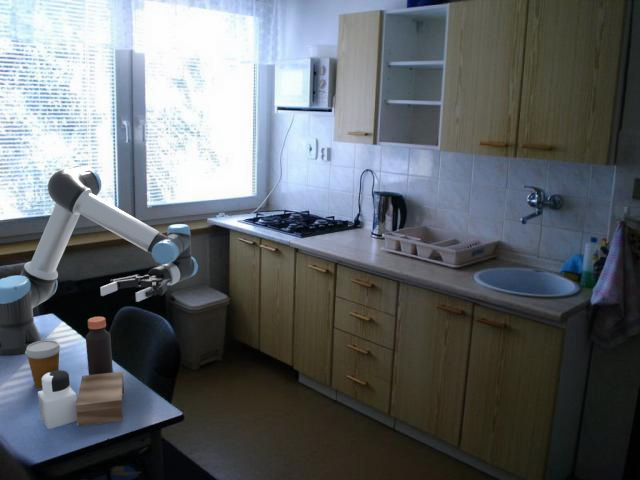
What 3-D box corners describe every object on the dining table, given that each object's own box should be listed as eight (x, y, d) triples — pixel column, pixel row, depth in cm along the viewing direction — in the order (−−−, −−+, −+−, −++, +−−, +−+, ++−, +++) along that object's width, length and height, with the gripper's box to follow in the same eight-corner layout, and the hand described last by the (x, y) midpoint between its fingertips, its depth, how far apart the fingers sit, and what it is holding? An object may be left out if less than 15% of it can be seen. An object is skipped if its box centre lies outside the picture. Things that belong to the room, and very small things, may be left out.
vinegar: (116, 384, 184) (112, 320, 179) (93, 390, 180) (88, 325, 175) (109, 376, 189) (104, 313, 185) (86, 381, 185) (81, 318, 181)
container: (69, 409, 169) (65, 365, 166) (79, 420, 163) (75, 374, 160) (39, 418, 164) (35, 372, 161) (48, 430, 158) (43, 383, 155)
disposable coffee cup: (50, 392, 178) (47, 353, 176) (21, 389, 180) (17, 350, 178) (70, 378, 188) (67, 341, 185) (42, 375, 189) (38, 338, 187)
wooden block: (83, 395, 177) (82, 375, 175) (124, 390, 180) (122, 371, 178) (78, 426, 160) (76, 405, 159) (122, 420, 163) (121, 399, 162)
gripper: (194, 292, 202) (152, 311, 184) (134, 282, 212) (88, 300, 193) (193, 269, 201) (151, 287, 182) (132, 261, 211) (86, 277, 192)
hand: (118, 294), depth 188 cm, fingers open, 13 cm apart
